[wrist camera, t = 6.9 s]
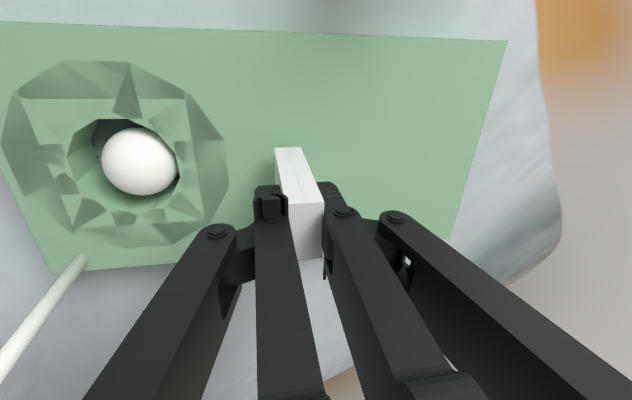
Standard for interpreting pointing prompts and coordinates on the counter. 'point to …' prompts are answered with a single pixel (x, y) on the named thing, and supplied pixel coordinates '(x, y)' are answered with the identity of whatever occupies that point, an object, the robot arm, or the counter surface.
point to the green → (226, 132)
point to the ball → (139, 161)
